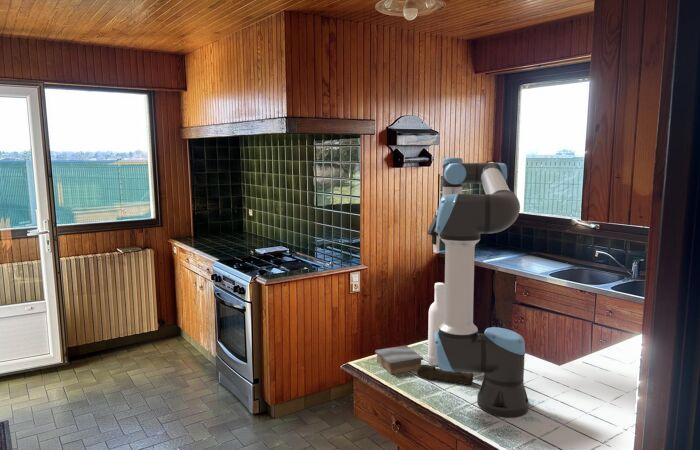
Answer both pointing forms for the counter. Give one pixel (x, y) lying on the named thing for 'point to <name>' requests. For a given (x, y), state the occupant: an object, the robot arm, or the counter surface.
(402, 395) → the counter surface
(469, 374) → the hand tool
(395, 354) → the slate stand
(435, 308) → the bottle
